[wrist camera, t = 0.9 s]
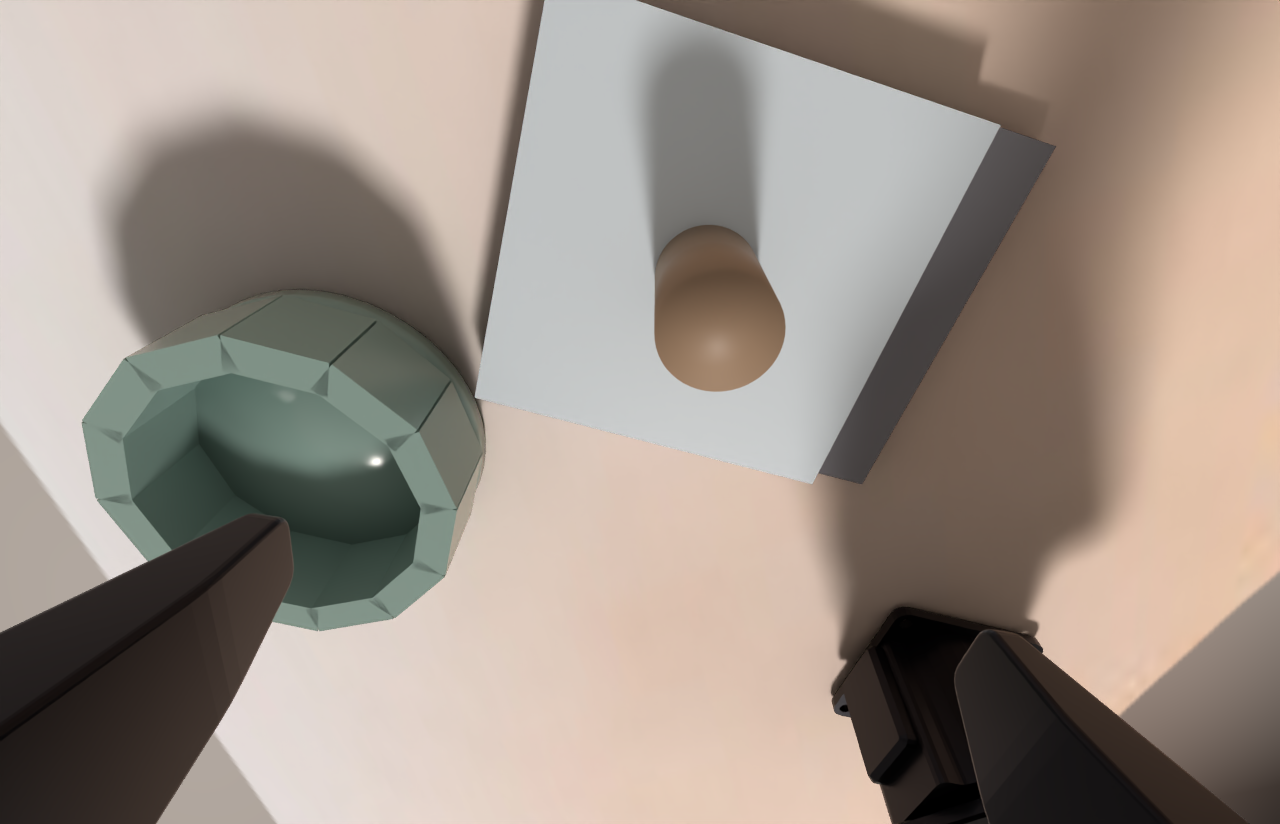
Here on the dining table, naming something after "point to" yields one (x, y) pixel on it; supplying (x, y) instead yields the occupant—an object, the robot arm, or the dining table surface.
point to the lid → (711, 235)
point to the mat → (938, 299)
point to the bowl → (297, 447)
